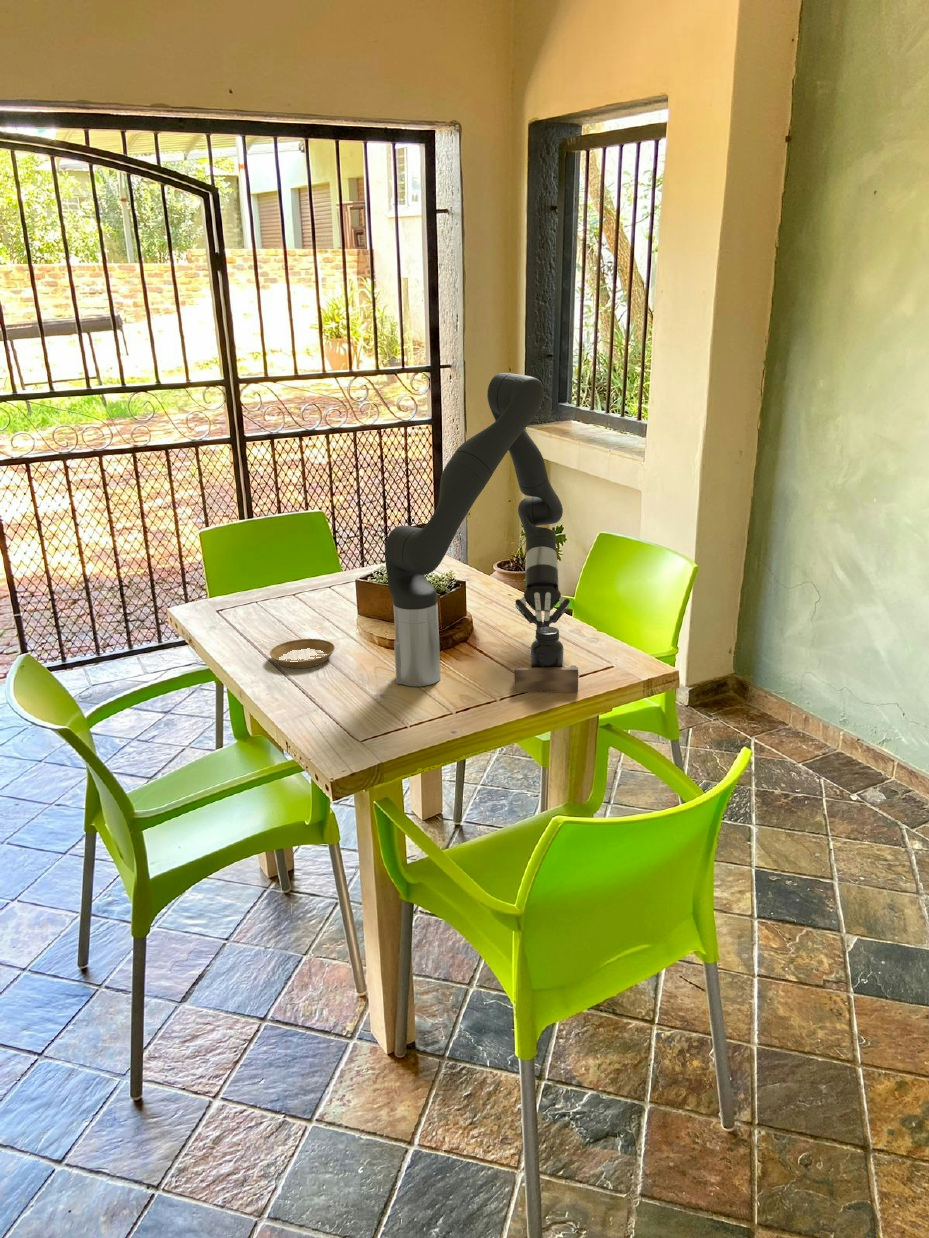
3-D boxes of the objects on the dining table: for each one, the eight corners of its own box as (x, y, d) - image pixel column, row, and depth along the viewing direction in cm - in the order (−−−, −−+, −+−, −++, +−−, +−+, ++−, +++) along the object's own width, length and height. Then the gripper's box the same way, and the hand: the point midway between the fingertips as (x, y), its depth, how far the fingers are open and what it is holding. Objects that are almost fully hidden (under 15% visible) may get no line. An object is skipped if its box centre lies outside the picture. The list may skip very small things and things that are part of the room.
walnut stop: (514, 692, 184) (514, 670, 183) (514, 681, 190) (514, 659, 188) (578, 691, 184) (578, 669, 182) (576, 680, 189) (576, 658, 187)
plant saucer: (257, 666, 203) (256, 655, 202) (297, 645, 215) (296, 634, 214) (309, 676, 196) (308, 665, 195) (348, 654, 209) (347, 643, 208)
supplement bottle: (536, 691, 184) (536, 637, 180) (526, 679, 191) (525, 626, 187) (568, 687, 186) (568, 633, 182) (556, 675, 192) (556, 622, 188)
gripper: (513, 563, 205) (513, 632, 198) (570, 562, 204) (573, 631, 197) (513, 578, 212) (514, 645, 205) (569, 577, 211) (572, 645, 204)
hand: (543, 638), depth 201 cm, fingers closed
